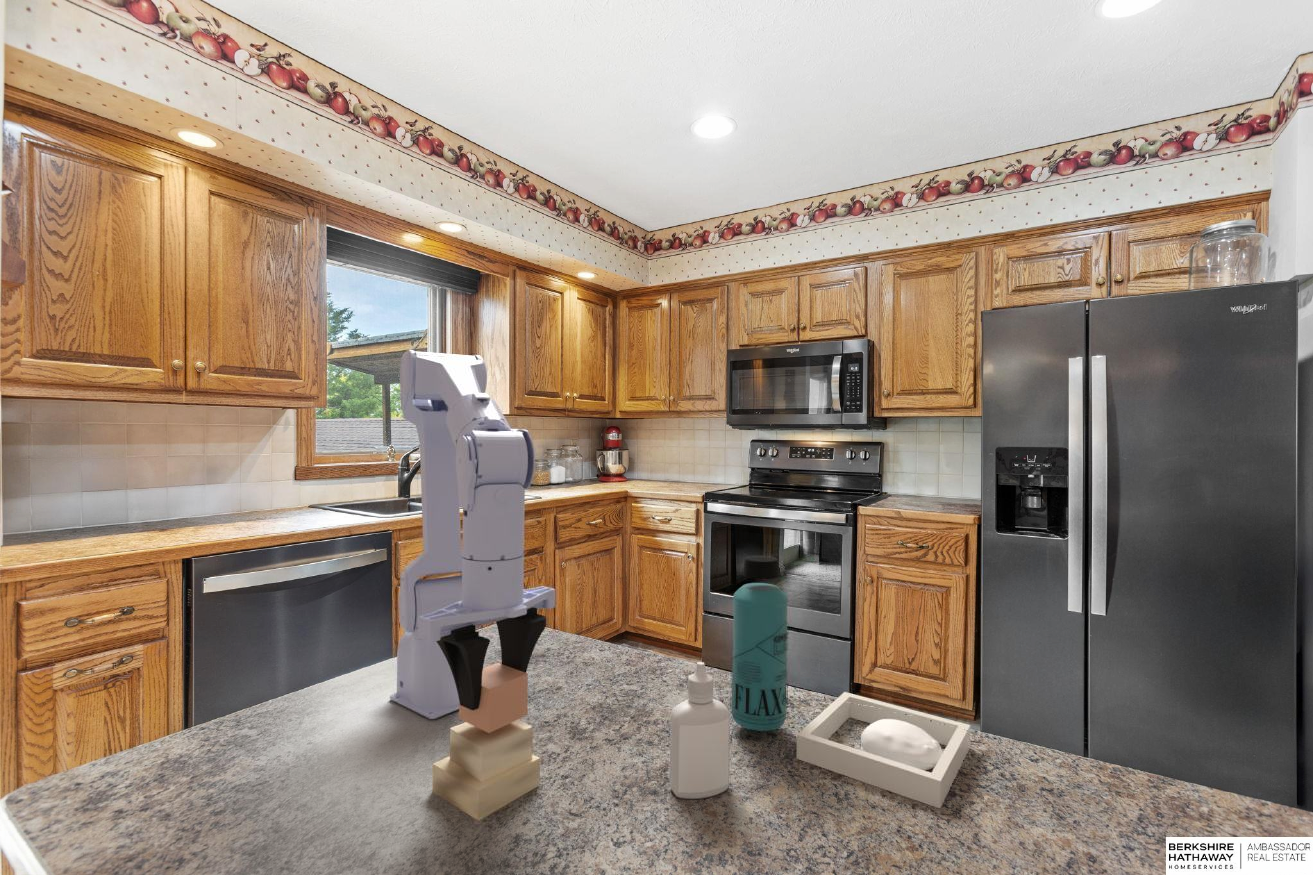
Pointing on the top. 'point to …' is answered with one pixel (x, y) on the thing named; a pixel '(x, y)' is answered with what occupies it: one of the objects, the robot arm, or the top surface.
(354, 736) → the top surface
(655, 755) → the top surface
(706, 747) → the eye dropper bottle
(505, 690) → the terracotta block
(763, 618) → the beverage bottle
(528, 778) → the tower base
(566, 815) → the top surface
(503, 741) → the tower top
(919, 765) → the white rounded lump
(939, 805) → the garlic dish
